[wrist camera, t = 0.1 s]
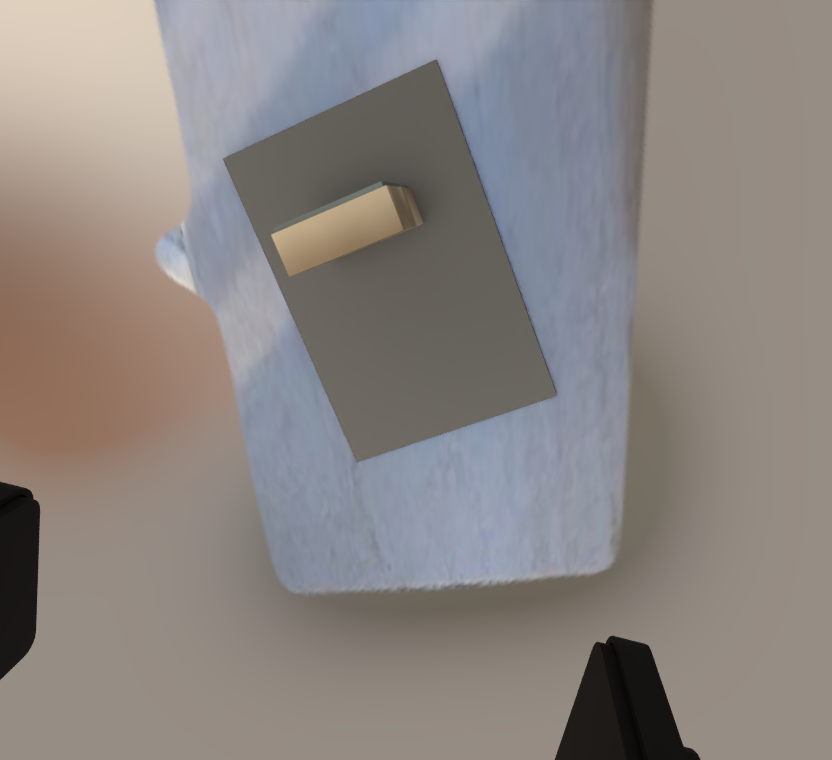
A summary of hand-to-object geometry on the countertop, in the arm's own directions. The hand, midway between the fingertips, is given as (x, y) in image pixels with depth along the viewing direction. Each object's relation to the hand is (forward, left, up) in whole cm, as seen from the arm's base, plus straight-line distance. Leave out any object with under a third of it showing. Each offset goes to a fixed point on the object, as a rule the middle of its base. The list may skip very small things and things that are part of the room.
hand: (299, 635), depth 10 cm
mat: (-3, -3, -37) cm, 37 cm away
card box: (-7, -3, -36) cm, 37 cm away
